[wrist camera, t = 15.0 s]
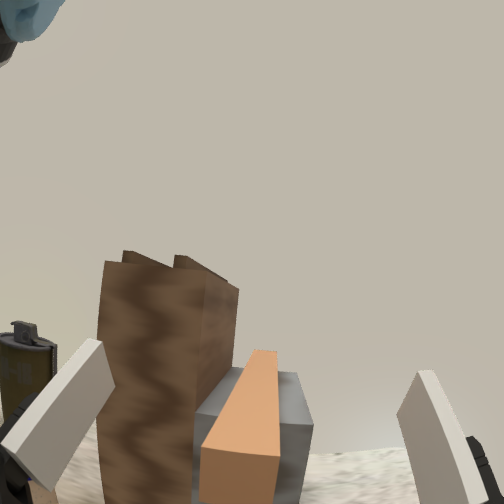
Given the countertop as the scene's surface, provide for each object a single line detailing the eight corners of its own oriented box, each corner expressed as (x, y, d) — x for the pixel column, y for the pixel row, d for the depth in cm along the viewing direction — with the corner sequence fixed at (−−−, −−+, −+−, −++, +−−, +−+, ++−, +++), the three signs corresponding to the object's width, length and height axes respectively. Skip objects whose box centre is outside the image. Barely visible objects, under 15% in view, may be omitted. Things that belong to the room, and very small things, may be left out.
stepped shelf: (111, 534, 18) (106, 248, 23) (166, 465, 37) (178, 275, 43) (280, 569, 16) (330, 267, 22) (280, 483, 36) (304, 287, 41)
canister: (-4, 437, 26) (-14, 318, 30) (16, 417, 36) (13, 315, 40) (52, 456, 30) (45, 334, 33) (66, 431, 39) (64, 327, 43)
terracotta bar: (198, 501, 9) (201, 446, 10) (252, 370, 38) (254, 349, 39) (270, 510, 9) (280, 456, 9) (274, 373, 38) (276, 351, 39)
